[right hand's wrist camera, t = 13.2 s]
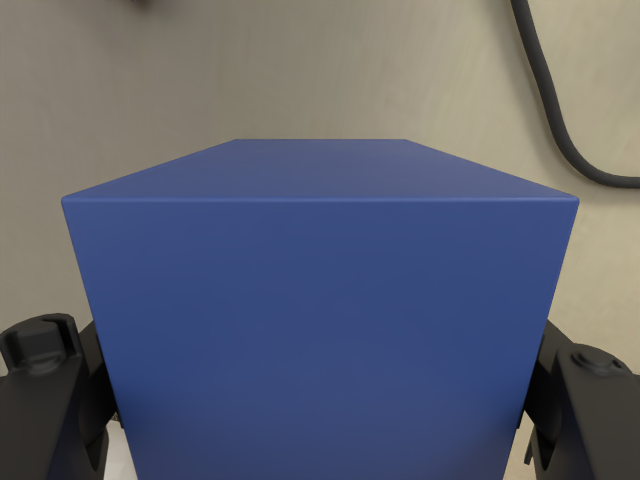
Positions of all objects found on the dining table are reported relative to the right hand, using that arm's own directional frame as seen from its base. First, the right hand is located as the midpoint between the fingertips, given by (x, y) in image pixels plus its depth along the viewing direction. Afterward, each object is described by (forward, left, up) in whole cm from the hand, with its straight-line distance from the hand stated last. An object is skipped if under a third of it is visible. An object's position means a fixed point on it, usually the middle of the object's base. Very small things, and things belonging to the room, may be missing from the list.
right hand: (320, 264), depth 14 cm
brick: (0, 0, -4) cm, 4 cm away
